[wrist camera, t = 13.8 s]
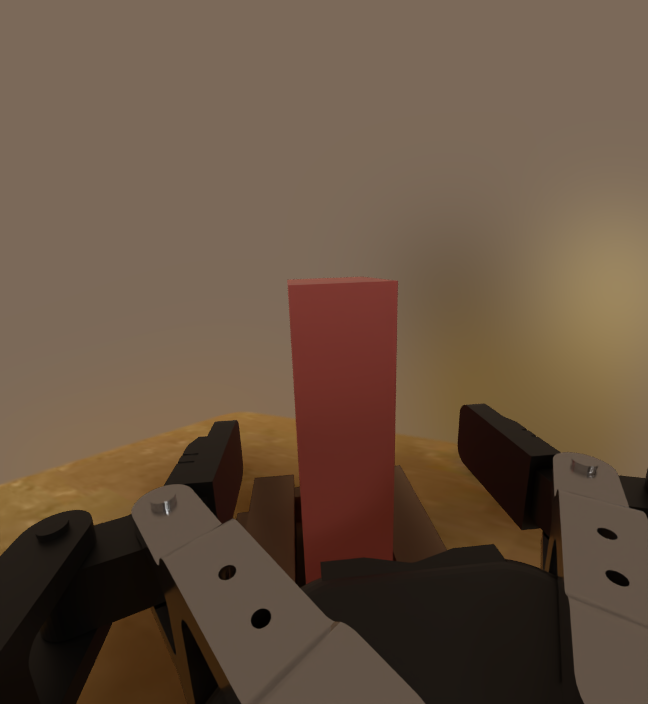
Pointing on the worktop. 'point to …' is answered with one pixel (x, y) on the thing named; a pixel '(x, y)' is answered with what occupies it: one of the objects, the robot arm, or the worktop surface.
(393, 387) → the salmon rectangular prism
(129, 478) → the worktop surface
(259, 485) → the rack
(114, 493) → the worktop surface
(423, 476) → the worktop surface
